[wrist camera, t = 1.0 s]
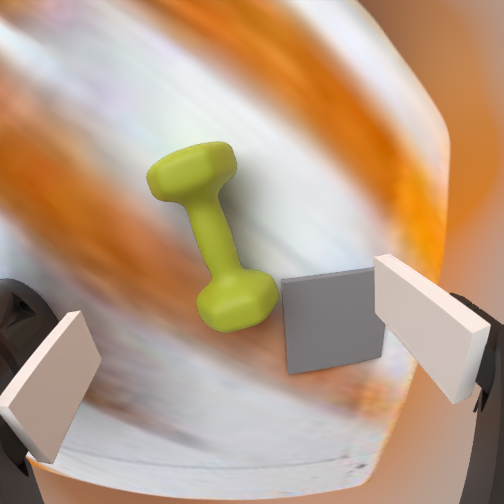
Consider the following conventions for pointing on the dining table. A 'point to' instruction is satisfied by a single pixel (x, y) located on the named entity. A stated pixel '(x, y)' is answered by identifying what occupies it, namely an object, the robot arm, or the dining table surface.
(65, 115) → the dining table surface
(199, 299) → the dumbbell
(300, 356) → the trivet
